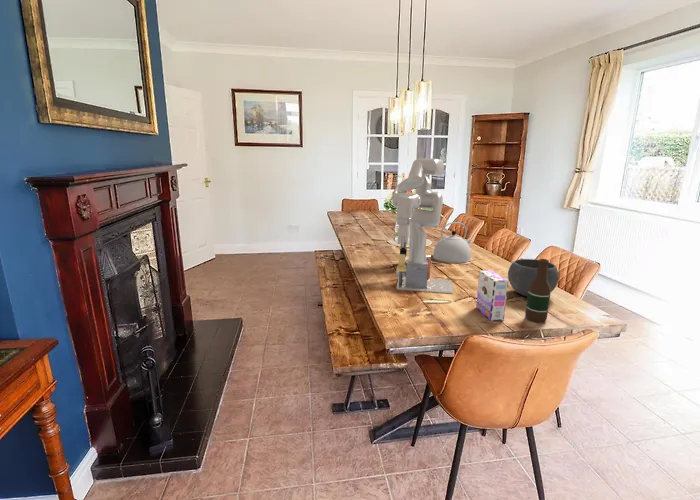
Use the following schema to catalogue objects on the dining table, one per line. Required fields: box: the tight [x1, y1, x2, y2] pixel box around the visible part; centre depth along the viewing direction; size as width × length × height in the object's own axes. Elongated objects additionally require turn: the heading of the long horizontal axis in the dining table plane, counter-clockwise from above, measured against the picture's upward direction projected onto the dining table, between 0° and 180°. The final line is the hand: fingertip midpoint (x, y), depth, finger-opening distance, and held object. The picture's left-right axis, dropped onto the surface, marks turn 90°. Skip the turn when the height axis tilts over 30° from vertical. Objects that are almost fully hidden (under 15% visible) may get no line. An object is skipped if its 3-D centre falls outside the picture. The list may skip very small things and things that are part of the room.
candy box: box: [476, 269, 509, 322], centre depth 149 cm, size 14×6×16 cm, turn 5°
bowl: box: [507, 258, 560, 297], centre depth 170 cm, size 20×20×15 cm
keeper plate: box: [396, 253, 407, 272], centre depth 181 cm, size 4×7×7 cm, turn 169°
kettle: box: [432, 221, 473, 264], centre depth 230 cm, size 25×23×22 cm
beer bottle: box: [524, 258, 552, 324], centre depth 143 cm, size 8×8×24 cm
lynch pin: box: [395, 257, 432, 281], centre depth 181 cm, size 16×5×11 cm, turn 79°
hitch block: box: [396, 263, 454, 294], centre depth 182 cm, size 26×18×9 cm
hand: (403, 256), depth 190 cm, fingers closed
